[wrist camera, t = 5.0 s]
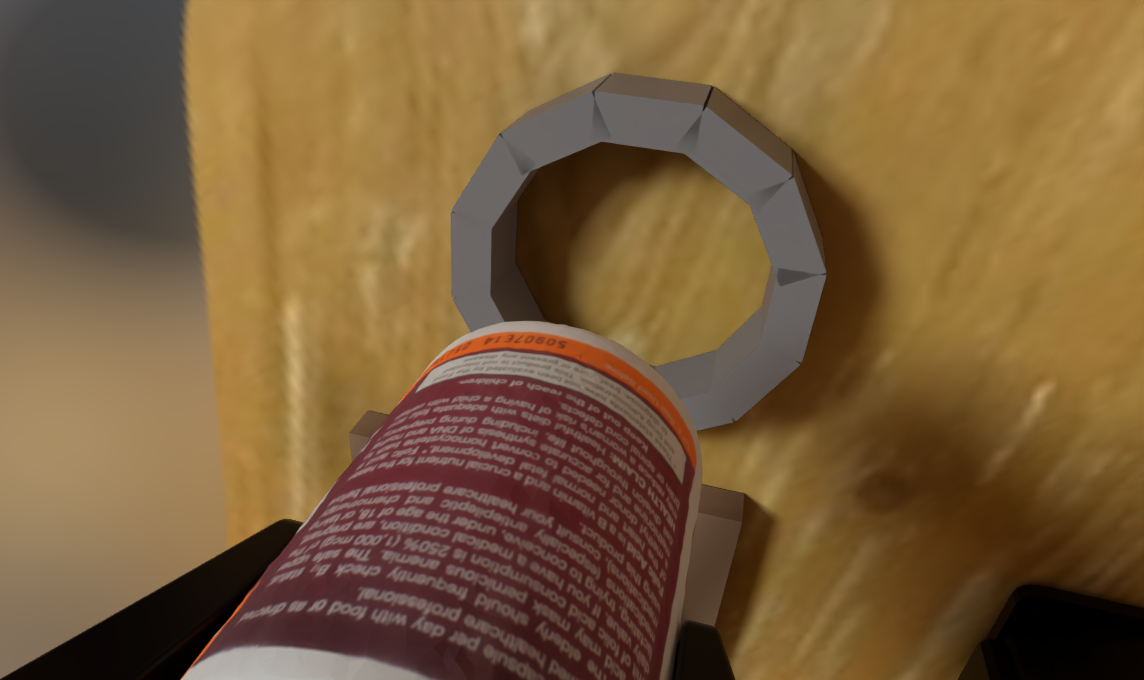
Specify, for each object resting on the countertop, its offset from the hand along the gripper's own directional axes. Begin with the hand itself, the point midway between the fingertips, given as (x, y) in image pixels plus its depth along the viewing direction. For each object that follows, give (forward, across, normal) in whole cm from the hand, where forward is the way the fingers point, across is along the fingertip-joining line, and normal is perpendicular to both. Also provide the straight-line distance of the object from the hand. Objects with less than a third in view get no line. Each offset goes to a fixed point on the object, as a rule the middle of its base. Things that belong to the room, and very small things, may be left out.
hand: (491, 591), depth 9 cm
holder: (+11, 0, 0) cm, 11 cm away
